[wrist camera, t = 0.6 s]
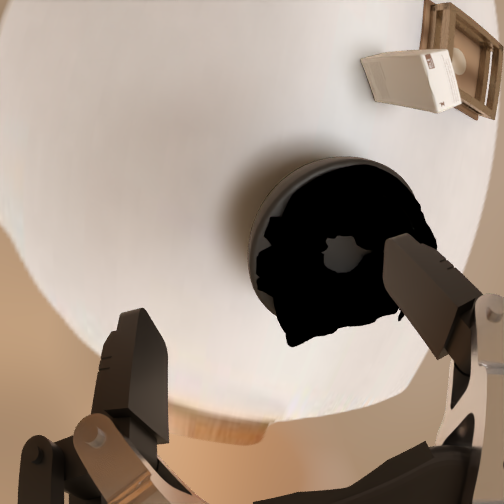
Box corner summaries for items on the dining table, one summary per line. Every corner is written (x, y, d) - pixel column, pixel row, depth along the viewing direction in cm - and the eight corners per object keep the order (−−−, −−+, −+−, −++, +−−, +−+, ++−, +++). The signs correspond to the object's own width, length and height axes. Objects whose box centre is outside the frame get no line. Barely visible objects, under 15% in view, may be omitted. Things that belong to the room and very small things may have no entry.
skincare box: (398, 93, 31) (465, 106, 21) (372, 102, 32) (438, 117, 21) (383, 50, 28) (451, 48, 18) (356, 57, 28) (421, 54, 18)
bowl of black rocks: (397, 168, 37) (499, 229, 21) (343, 286, 46) (402, 378, 30) (263, 117, 31) (337, 152, 15) (218, 268, 40) (239, 387, 24)
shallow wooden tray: (430, 5, 24) (450, 2, 20) (484, 44, 27) (503, 46, 23) (421, 84, 30) (441, 86, 27) (475, 114, 33) (494, 120, 30)
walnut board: (424, -2, 24) (426, -2, 23) (485, 43, 27) (487, 43, 27) (413, 87, 31) (416, 87, 30) (475, 119, 34) (477, 120, 34)
